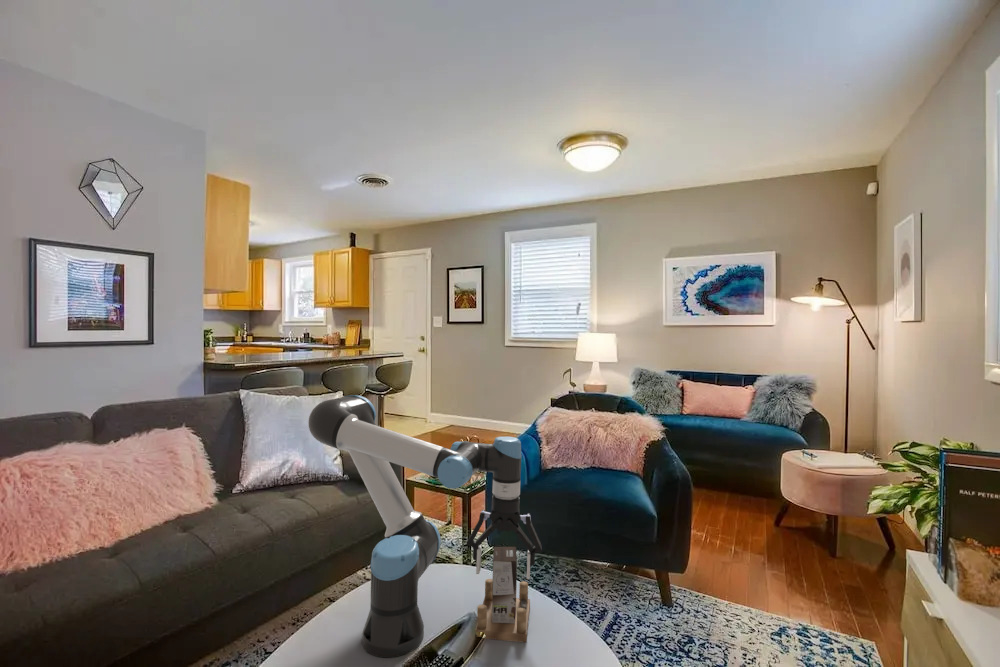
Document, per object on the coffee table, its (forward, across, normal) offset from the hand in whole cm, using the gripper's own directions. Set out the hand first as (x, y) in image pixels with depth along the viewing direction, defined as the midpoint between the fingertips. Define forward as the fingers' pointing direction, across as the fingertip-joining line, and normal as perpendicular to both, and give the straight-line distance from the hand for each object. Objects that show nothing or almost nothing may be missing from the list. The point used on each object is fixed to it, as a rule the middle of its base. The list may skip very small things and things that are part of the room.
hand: (503, 574), depth 125 cm
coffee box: (+11, +1, 0) cm, 11 cm away
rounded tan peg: (+10, +6, +5) cm, 13 cm away
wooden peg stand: (+12, +1, 0) cm, 12 cm away
